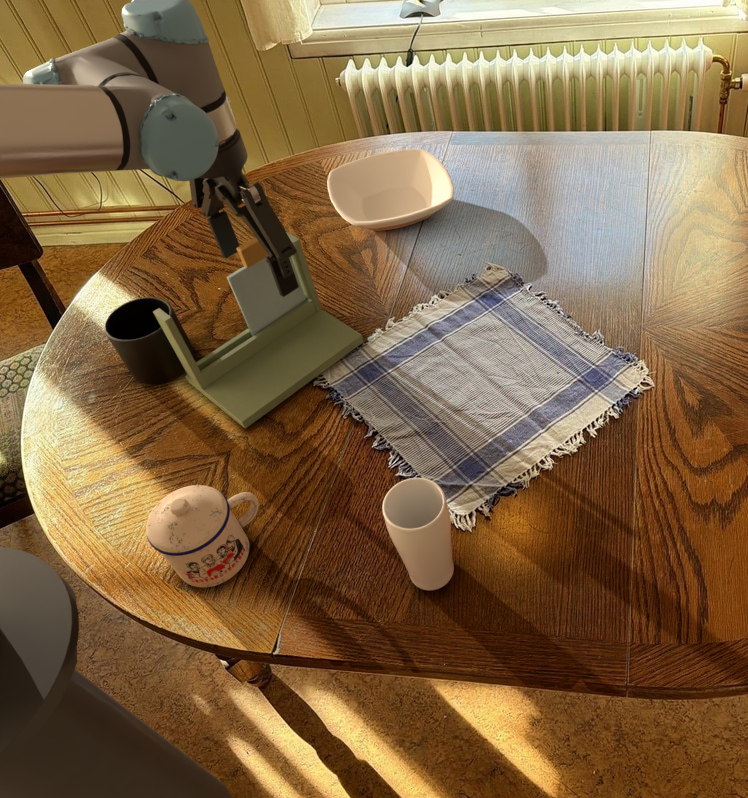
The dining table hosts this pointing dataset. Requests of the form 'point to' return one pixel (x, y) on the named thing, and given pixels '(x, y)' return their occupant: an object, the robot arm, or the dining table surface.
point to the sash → (261, 289)
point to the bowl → (390, 189)
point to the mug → (145, 340)
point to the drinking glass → (421, 531)
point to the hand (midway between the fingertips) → (260, 271)
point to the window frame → (267, 355)
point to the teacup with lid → (201, 533)
